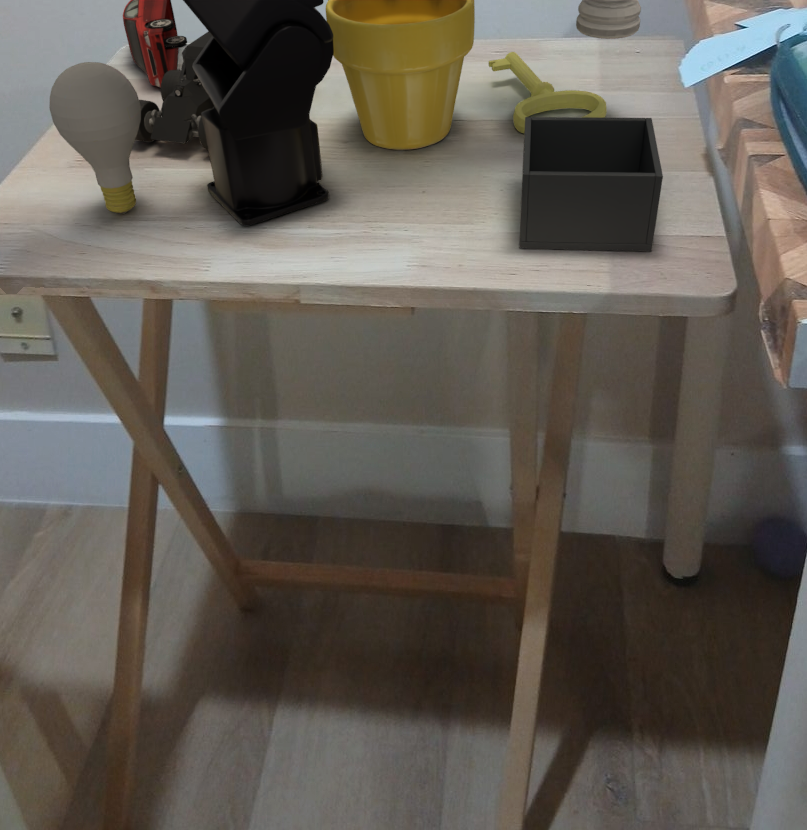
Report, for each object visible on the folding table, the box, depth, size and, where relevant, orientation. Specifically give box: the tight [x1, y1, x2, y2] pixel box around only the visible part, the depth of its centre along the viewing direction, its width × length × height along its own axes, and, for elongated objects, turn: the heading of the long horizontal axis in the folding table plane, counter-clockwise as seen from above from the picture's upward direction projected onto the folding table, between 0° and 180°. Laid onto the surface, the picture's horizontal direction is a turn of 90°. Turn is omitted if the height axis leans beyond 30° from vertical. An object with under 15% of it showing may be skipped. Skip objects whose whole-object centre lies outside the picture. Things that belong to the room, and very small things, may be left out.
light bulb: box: [49, 61, 141, 215], centre depth 60 cm, size 6×6×10 cm
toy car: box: [122, 0, 188, 89], centre depth 83 cm, size 6×15×5 cm
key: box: [488, 51, 608, 134], centre depth 72 cm, size 7×12×2 cm, turn 36°
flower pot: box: [325, 0, 476, 151], centre depth 68 cm, size 10×10×10 cm
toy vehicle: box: [135, 30, 214, 151], centre depth 72 cm, size 8×15×9 cm, turn 159°
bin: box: [518, 116, 664, 252], centre depth 58 cm, size 8×8×5 cm
